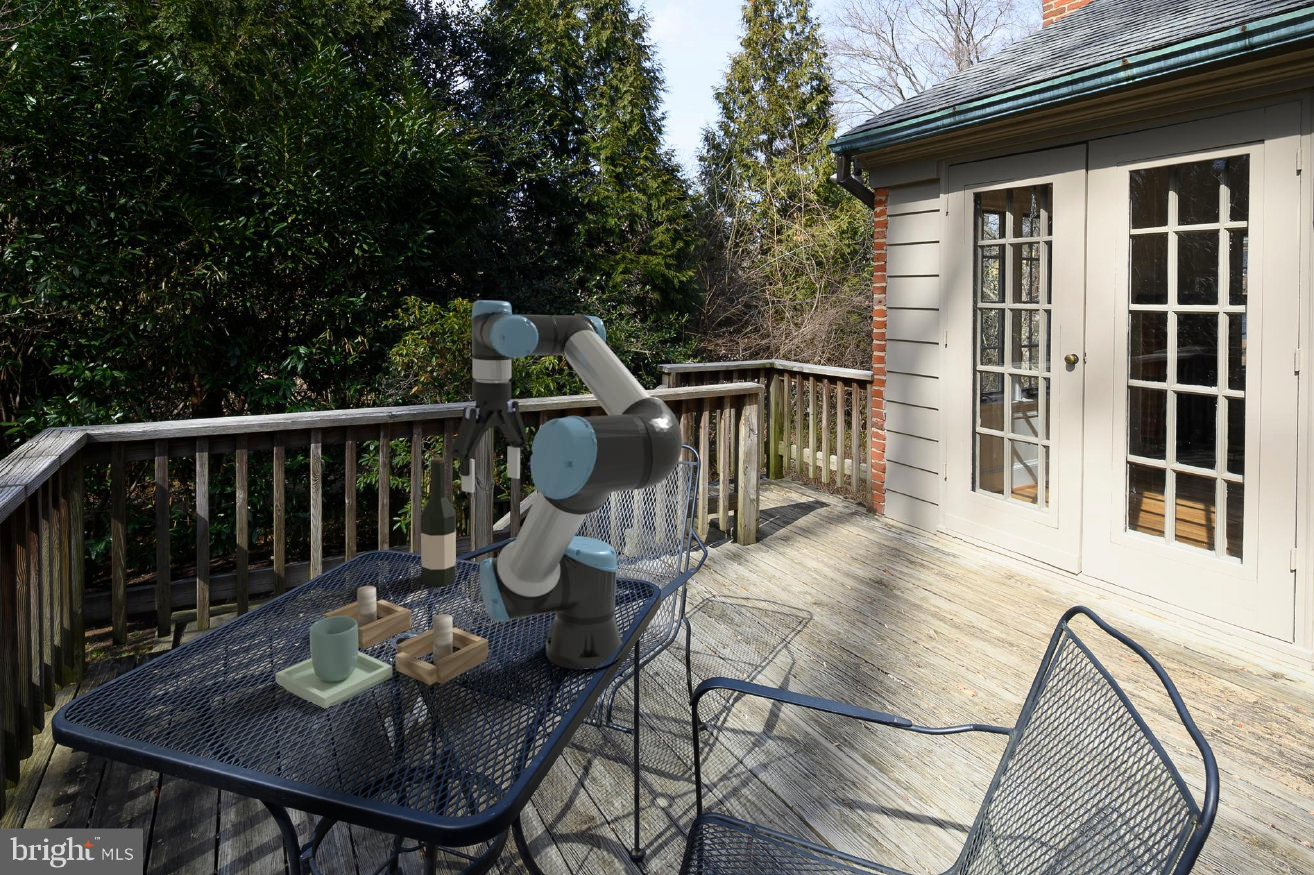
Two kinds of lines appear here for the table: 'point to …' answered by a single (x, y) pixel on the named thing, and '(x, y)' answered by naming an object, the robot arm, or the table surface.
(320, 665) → the cup
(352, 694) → the tray
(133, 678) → the table surface
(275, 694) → the table surface
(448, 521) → the wine bottle
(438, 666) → the rack
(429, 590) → the table surface
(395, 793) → the table surface
